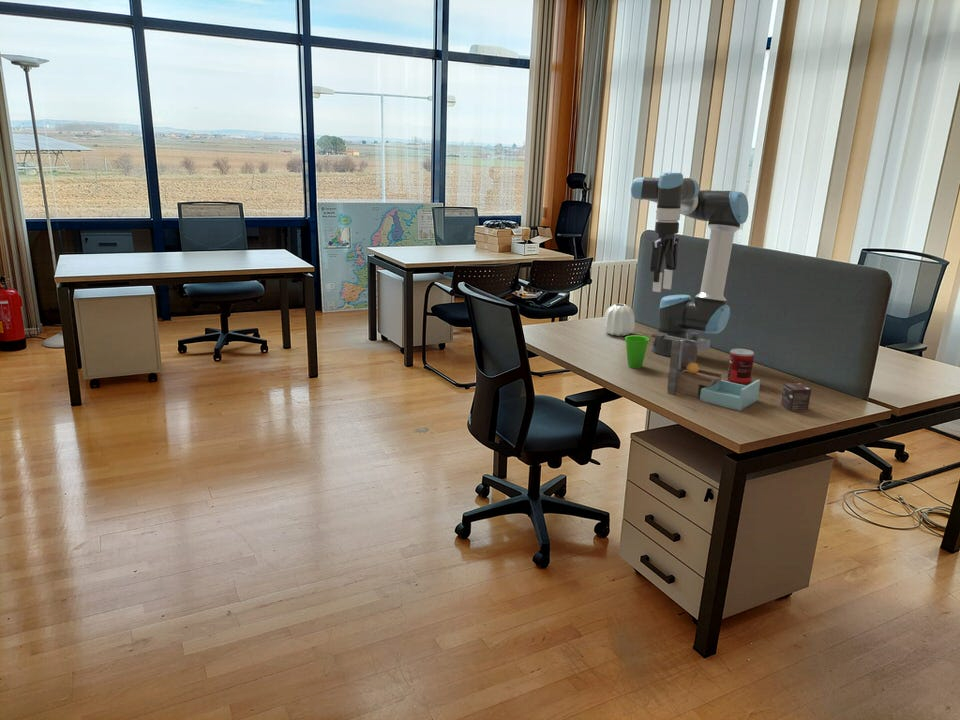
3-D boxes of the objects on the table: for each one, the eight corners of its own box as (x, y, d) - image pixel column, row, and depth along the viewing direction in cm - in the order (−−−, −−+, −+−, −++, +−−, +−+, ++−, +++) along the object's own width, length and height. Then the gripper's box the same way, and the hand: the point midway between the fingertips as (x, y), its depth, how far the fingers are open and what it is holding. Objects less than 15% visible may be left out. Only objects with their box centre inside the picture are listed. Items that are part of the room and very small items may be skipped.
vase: (609, 338, 298) (611, 308, 294) (598, 330, 311) (599, 302, 307) (639, 337, 301) (641, 307, 297) (626, 329, 314) (628, 300, 310)
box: (780, 404, 220) (783, 383, 218) (798, 404, 220) (801, 382, 218) (790, 411, 214) (793, 389, 212) (808, 411, 214) (811, 389, 212)
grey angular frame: (682, 381, 241) (687, 331, 236) (723, 391, 231) (729, 338, 226) (662, 391, 231) (667, 338, 226) (704, 402, 221) (710, 347, 216)
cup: (647, 370, 254) (649, 342, 251) (622, 368, 256) (624, 340, 252) (647, 363, 262) (649, 335, 259) (622, 362, 264) (624, 334, 261)
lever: (660, 360, 244) (663, 327, 240) (712, 371, 231) (715, 337, 228) (644, 367, 236) (647, 333, 232) (697, 379, 223) (700, 344, 220)
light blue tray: (717, 390, 232) (720, 371, 230) (757, 400, 223) (760, 379, 221) (699, 400, 223) (701, 380, 221) (740, 410, 214) (743, 389, 212)
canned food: (733, 376, 248) (736, 347, 245) (754, 381, 242) (758, 351, 239) (723, 380, 243) (726, 351, 239) (744, 386, 237) (748, 355, 234)
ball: (689, 371, 233) (690, 360, 232) (700, 374, 230) (701, 362, 229) (683, 374, 230) (684, 362, 229) (694, 376, 228) (696, 365, 226)
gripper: (671, 218, 234) (665, 285, 241) (642, 222, 220) (637, 292, 227) (691, 220, 229) (685, 287, 236) (663, 223, 216) (657, 295, 222)
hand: (661, 290), depth 231 cm, fingers open, 6 cm apart
